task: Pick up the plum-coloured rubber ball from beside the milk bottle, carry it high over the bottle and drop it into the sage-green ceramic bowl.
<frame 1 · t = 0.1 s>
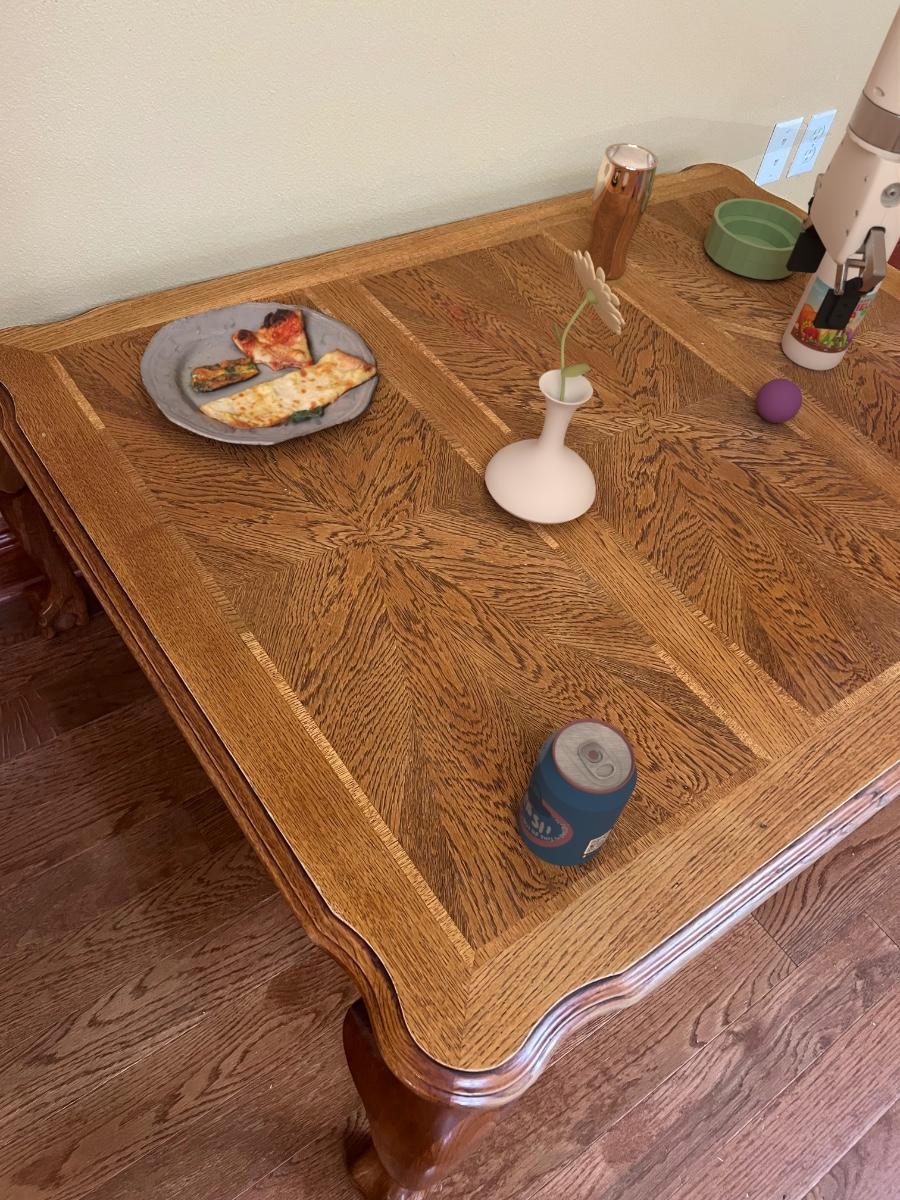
hand: (813, 298, 93), 17 cm above the table, tool pointing down, fingers open, 9 cm apart
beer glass: (601, 268, 126), on the table
soda can: (557, 831, 73), on the table
bowl: (748, 256, 132), on the table
food plate: (264, 383, 103), on the table
milk bottle: (808, 354, 119), on the table
ball: (778, 400, 107), point 2 cm above the table
flower in vase: (536, 489, 97), on the table
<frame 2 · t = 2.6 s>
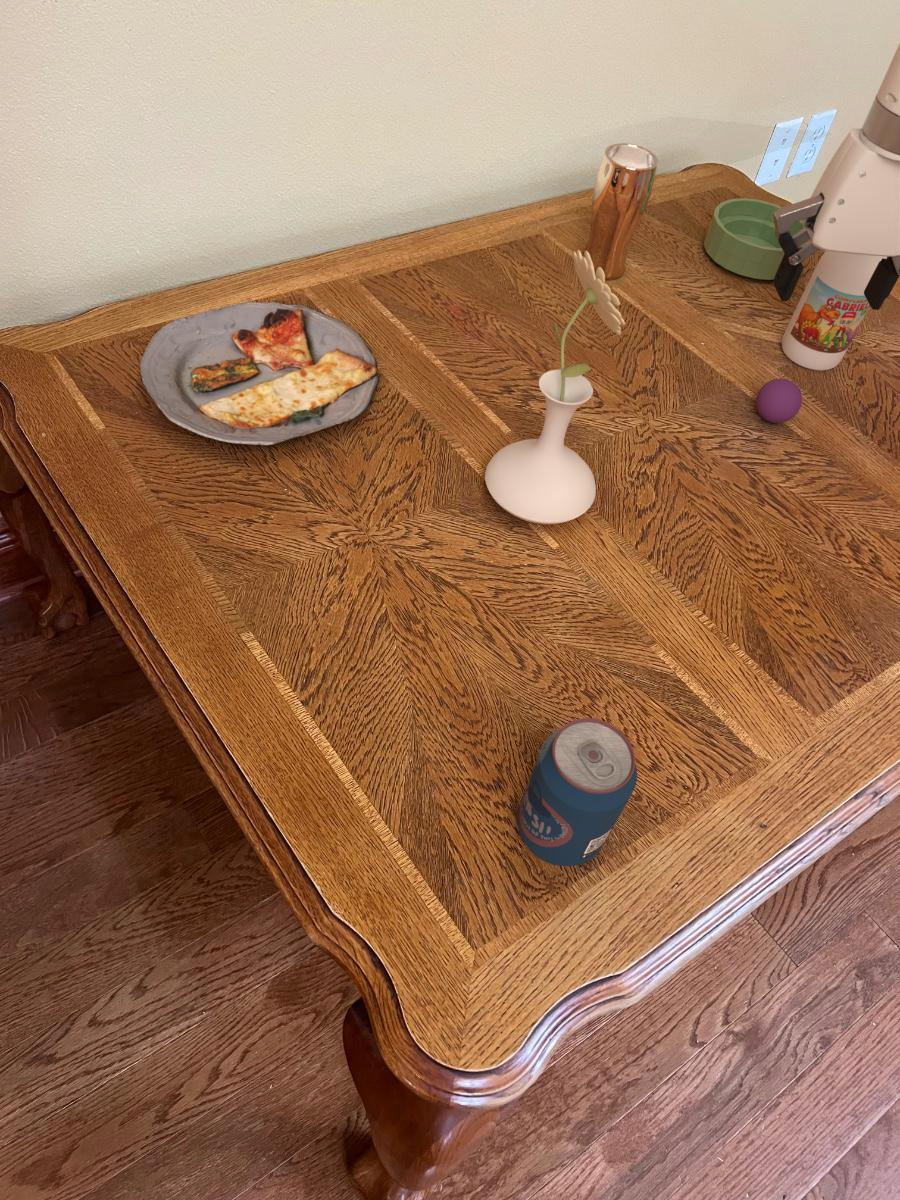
hand: (826, 297, 96), 16 cm above the table, tool pointing down, fingers open, 9 cm apart
nothing on the table moved.
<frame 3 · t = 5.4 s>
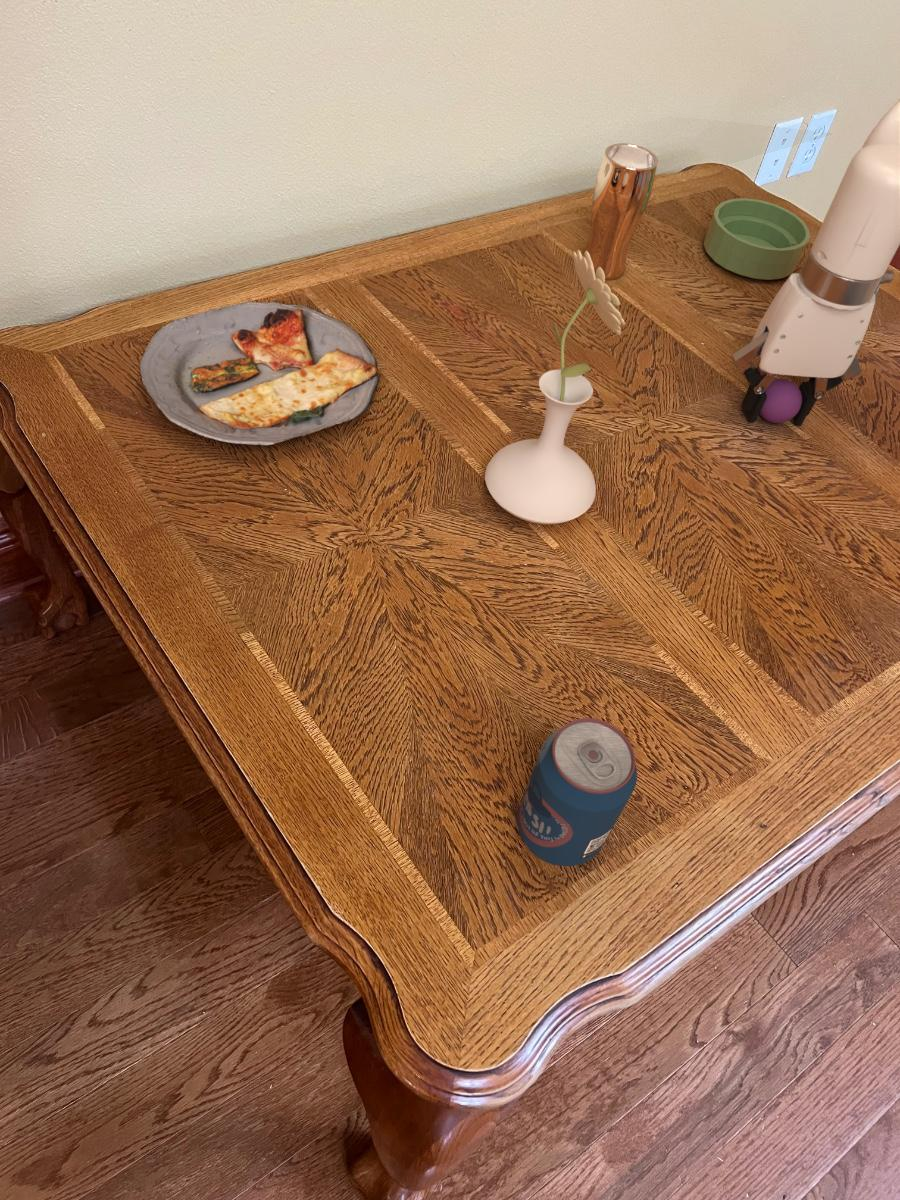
hand: (771, 415, 109), 0 cm above the table, tool pointing down, fingers closed on ball, 4 cm apart
ball: (778, 401, 107), point 2 cm above the table, touching gripper
everything else where it was.
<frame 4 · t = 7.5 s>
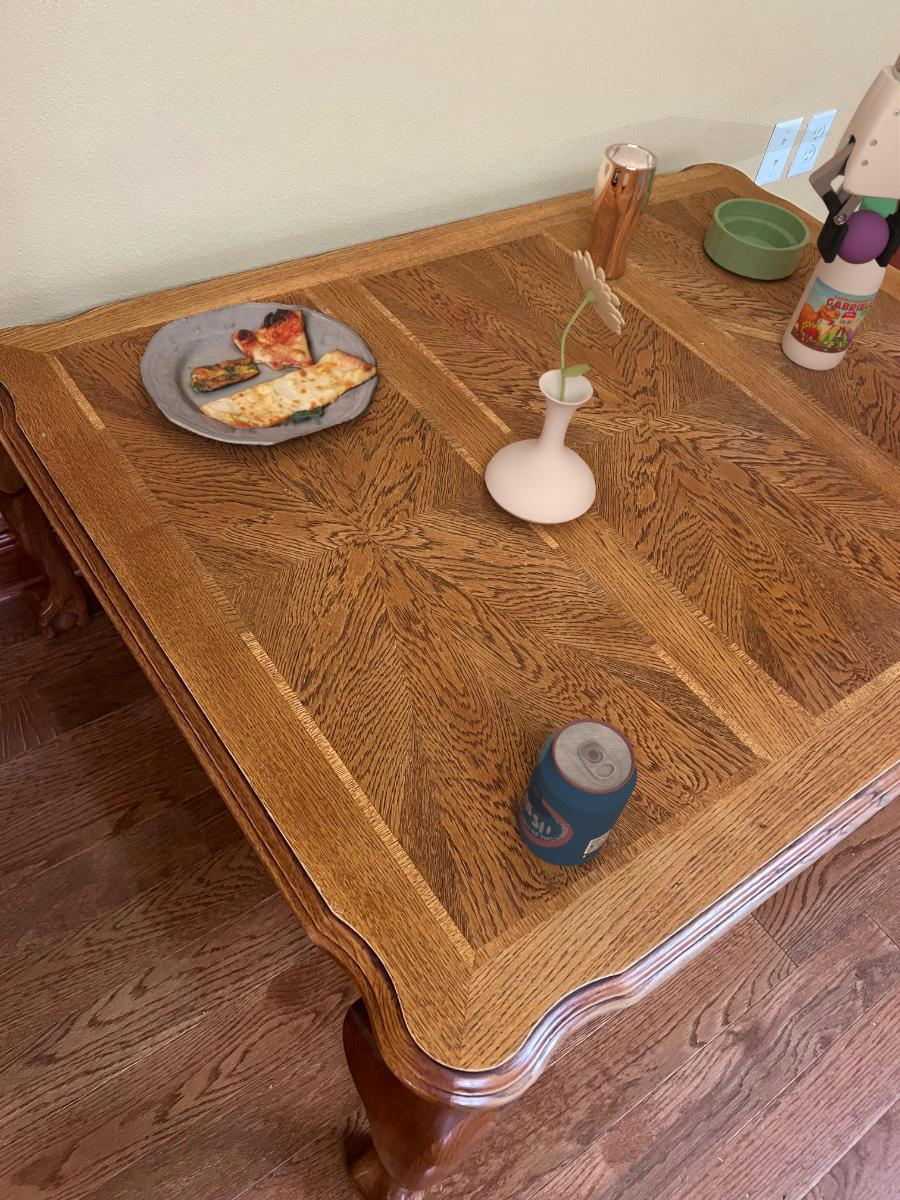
hand: (851, 256, 93), 21 cm above the table, tool pointing down, fingers closed on ball, 4 cm apart
ball: (860, 237, 92), point 23 cm above the table, touching gripper
everything else where it was.
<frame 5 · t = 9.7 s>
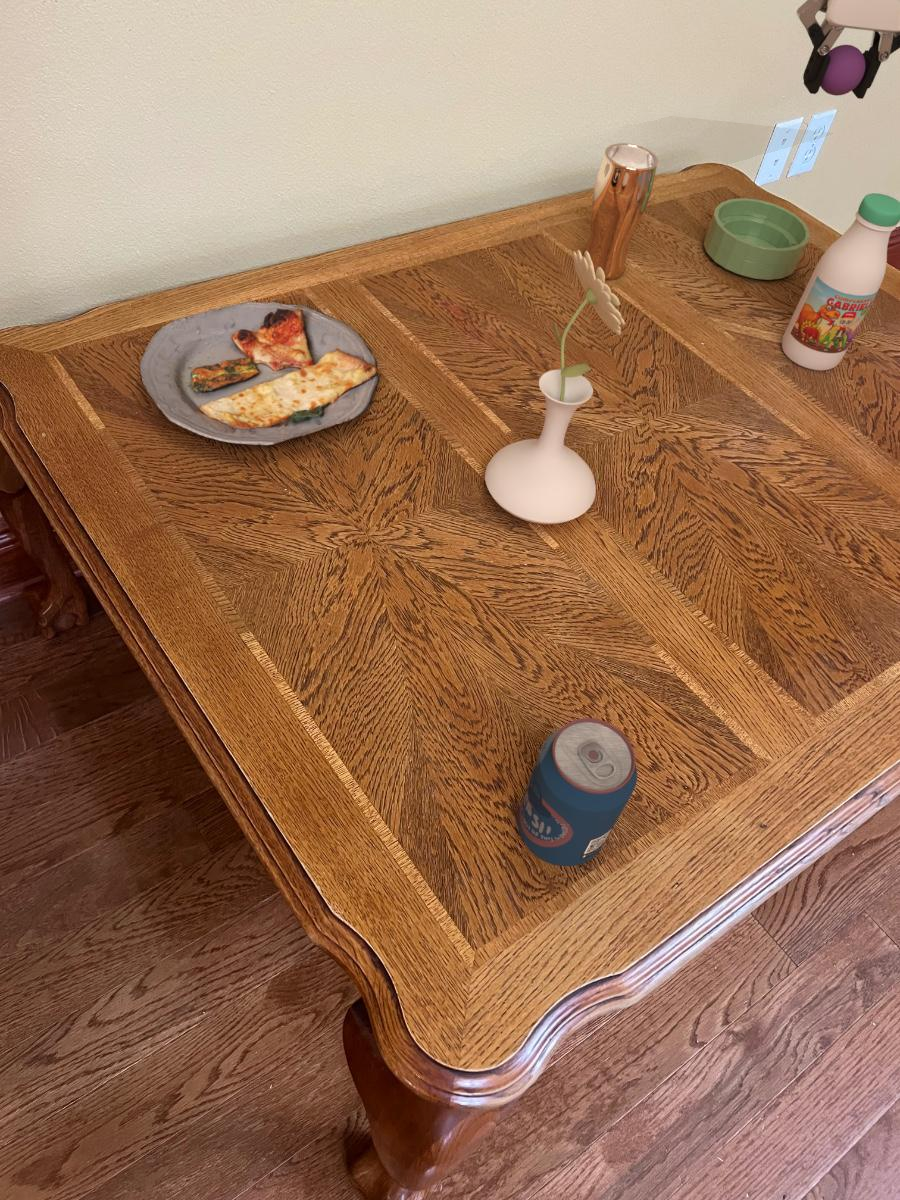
hand: (833, 89, 108), 25 cm above the table, tool pointing down, fingers closed on ball, 4 cm apart
ball: (841, 70, 106), point 27 cm above the table, touching gripper
everything else where it was.
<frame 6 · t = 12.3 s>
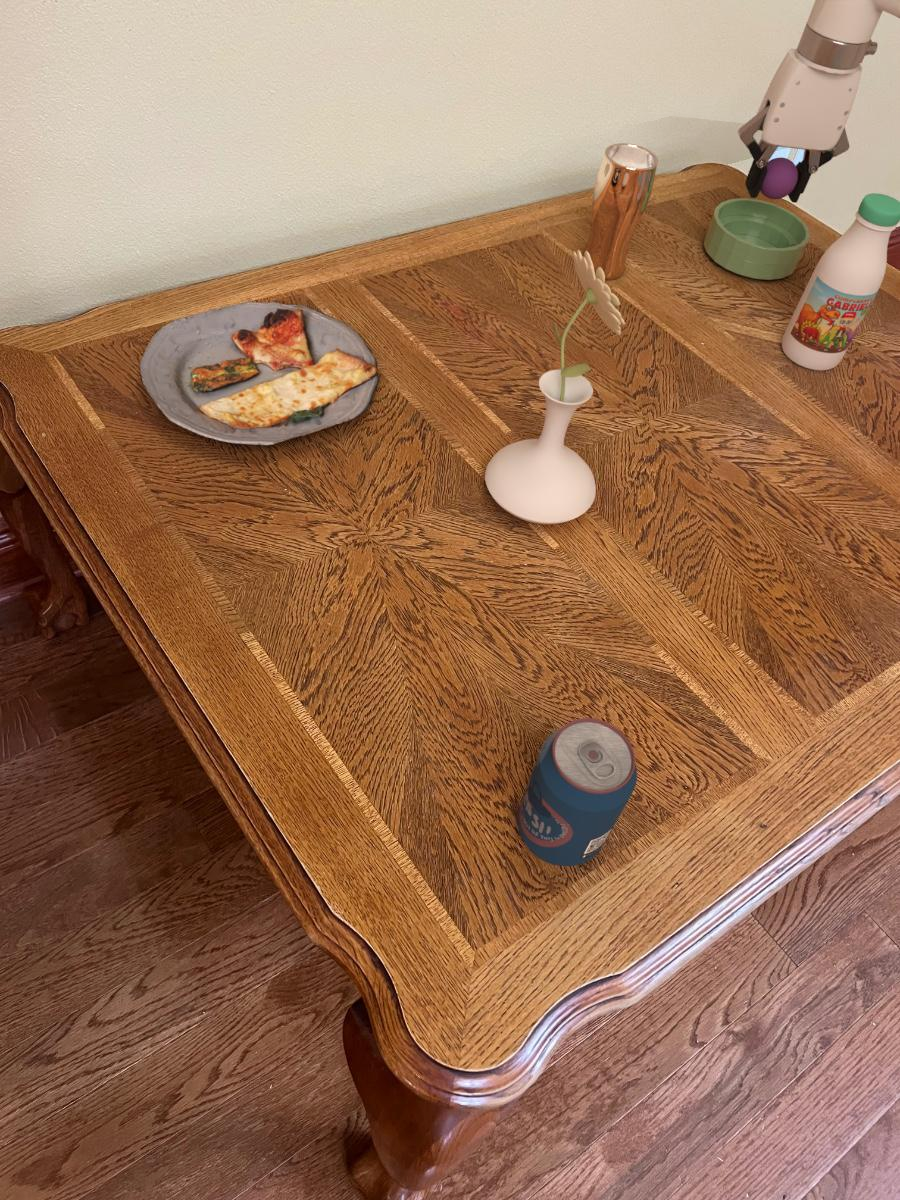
hand: (771, 193, 125), 9 cm above the table, tool pointing down, fingers closed on ball, 4 cm apart
ball: (777, 178, 123), point 11 cm above the table, touching gripper
everything else where it was.
when the fingers open (2 cm above the table, at t = 14.4 s): ball drops 1 cm, resting on bowl.
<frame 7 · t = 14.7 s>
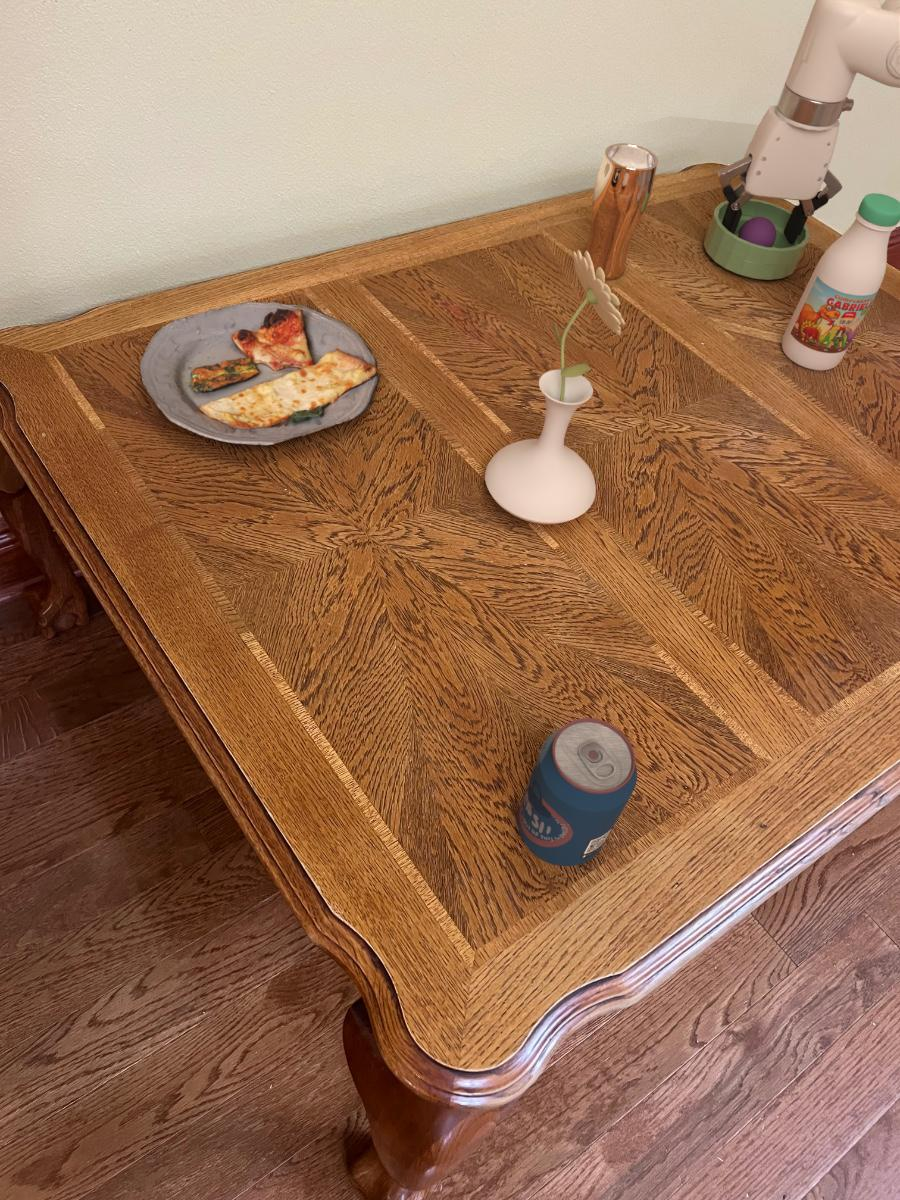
hand: (758, 235, 129), 3 cm above the table, tool pointing down, fingers open, 8 cm apart
ball: (757, 236, 129), point 3 cm above the table, touching bowl
everything else where it was.
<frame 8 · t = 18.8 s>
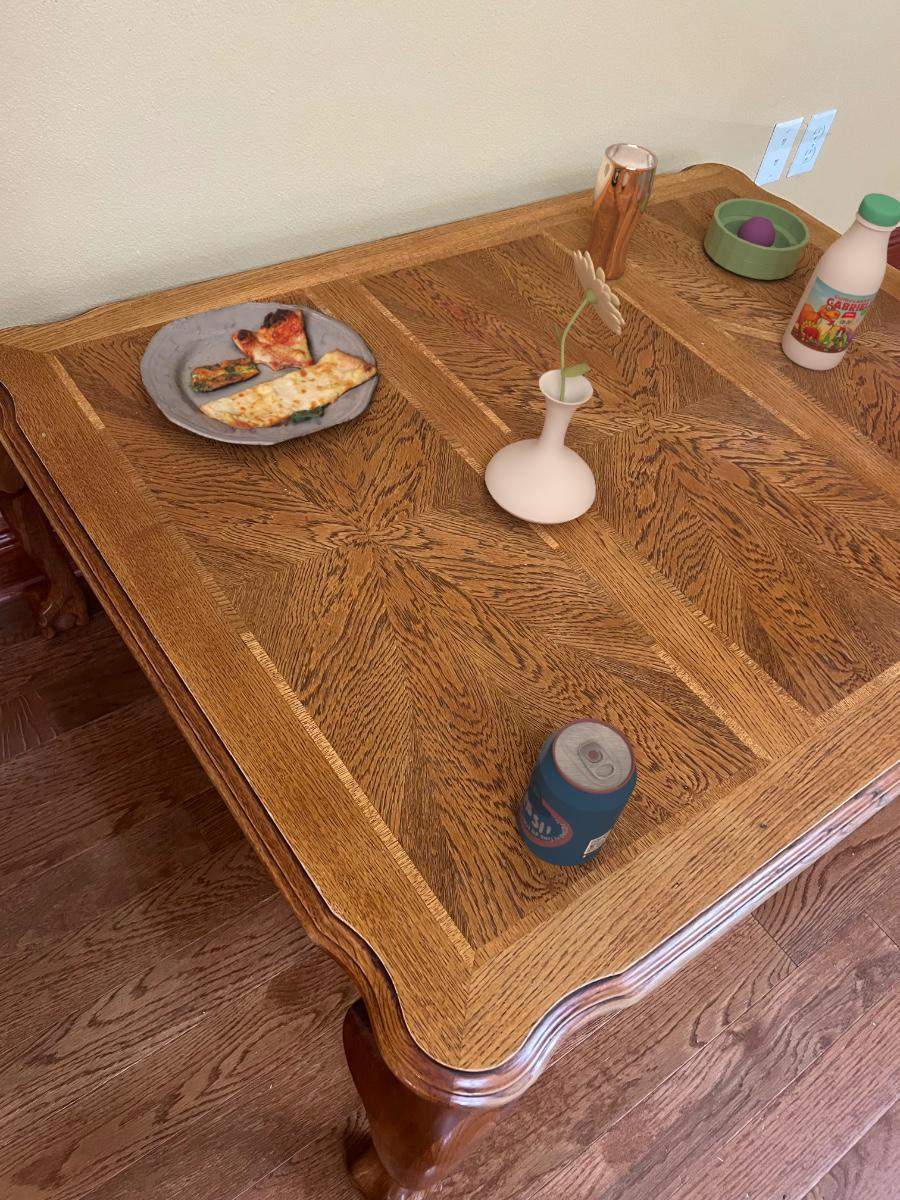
nothing on the table moved.
at the end: ball inside the target area in the bowl (0.1 cm from its centre), point 3.1 cm above the bowl's base; the gripper is holding nothing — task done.
